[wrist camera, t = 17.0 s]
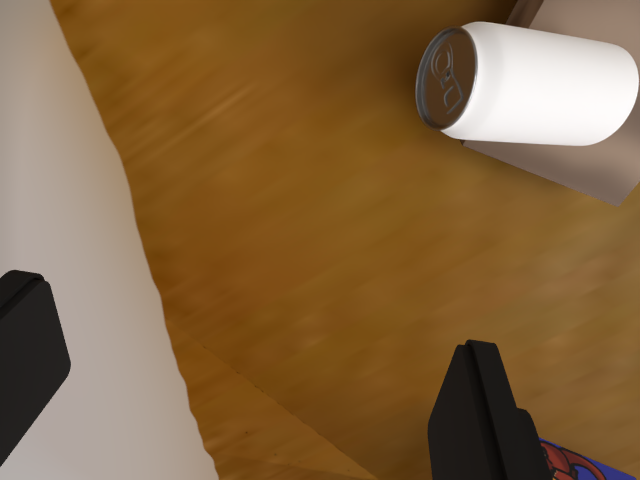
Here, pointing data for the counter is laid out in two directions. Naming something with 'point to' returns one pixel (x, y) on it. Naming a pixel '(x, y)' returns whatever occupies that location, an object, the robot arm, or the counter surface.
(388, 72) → the counter surface
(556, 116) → the can
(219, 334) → the counter surface
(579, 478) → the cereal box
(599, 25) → the walnut block
